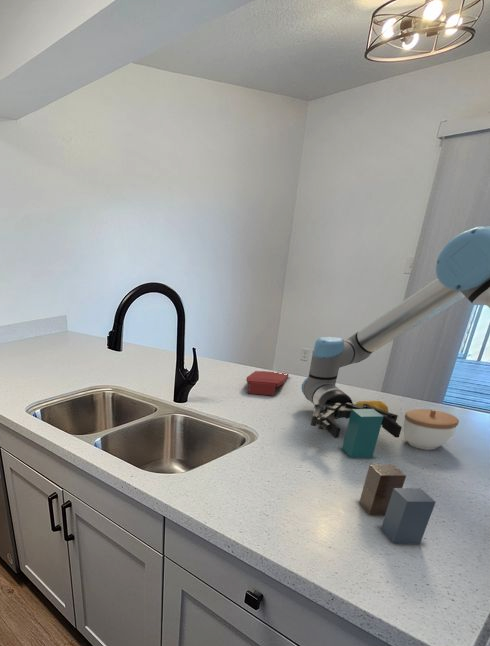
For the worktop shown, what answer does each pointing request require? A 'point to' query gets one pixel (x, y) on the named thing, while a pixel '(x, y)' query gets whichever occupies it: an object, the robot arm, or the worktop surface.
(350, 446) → the teal block
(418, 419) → the trinket box
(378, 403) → the bread roll
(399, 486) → the walnut block
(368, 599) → the worktop surface
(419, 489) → the slate block
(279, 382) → the carton
